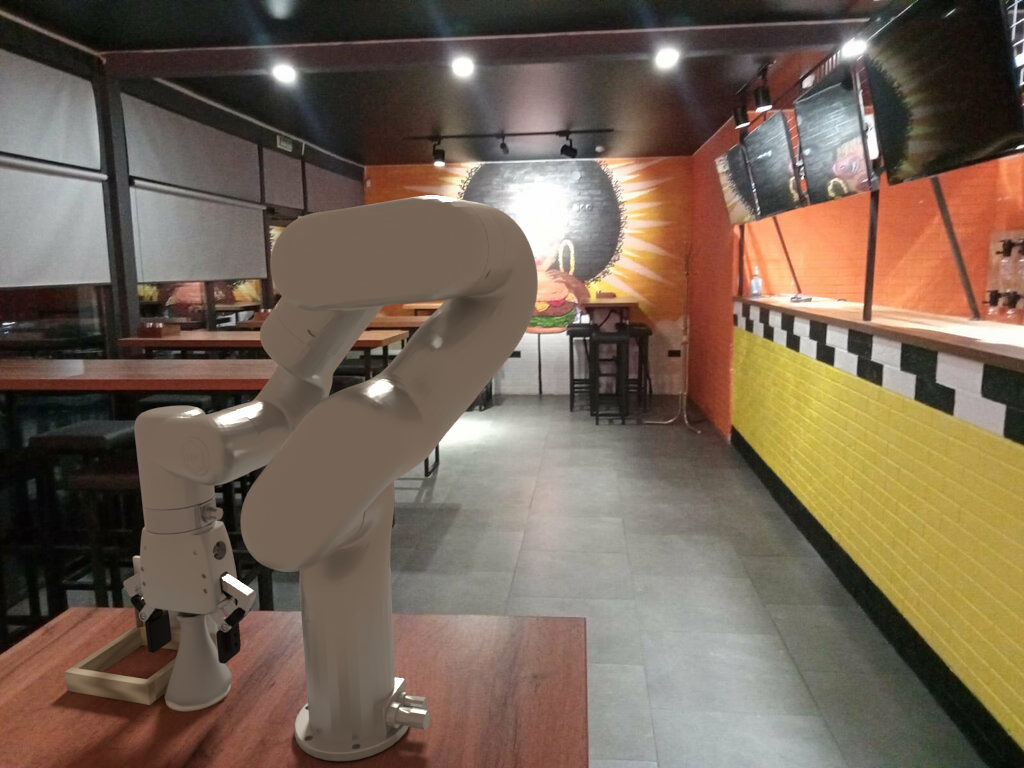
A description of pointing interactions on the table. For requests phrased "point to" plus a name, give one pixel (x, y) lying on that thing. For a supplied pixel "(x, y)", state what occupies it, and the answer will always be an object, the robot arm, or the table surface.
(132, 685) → the open-lid wooden box
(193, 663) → the flask
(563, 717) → the table surface
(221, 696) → the white domed disc
